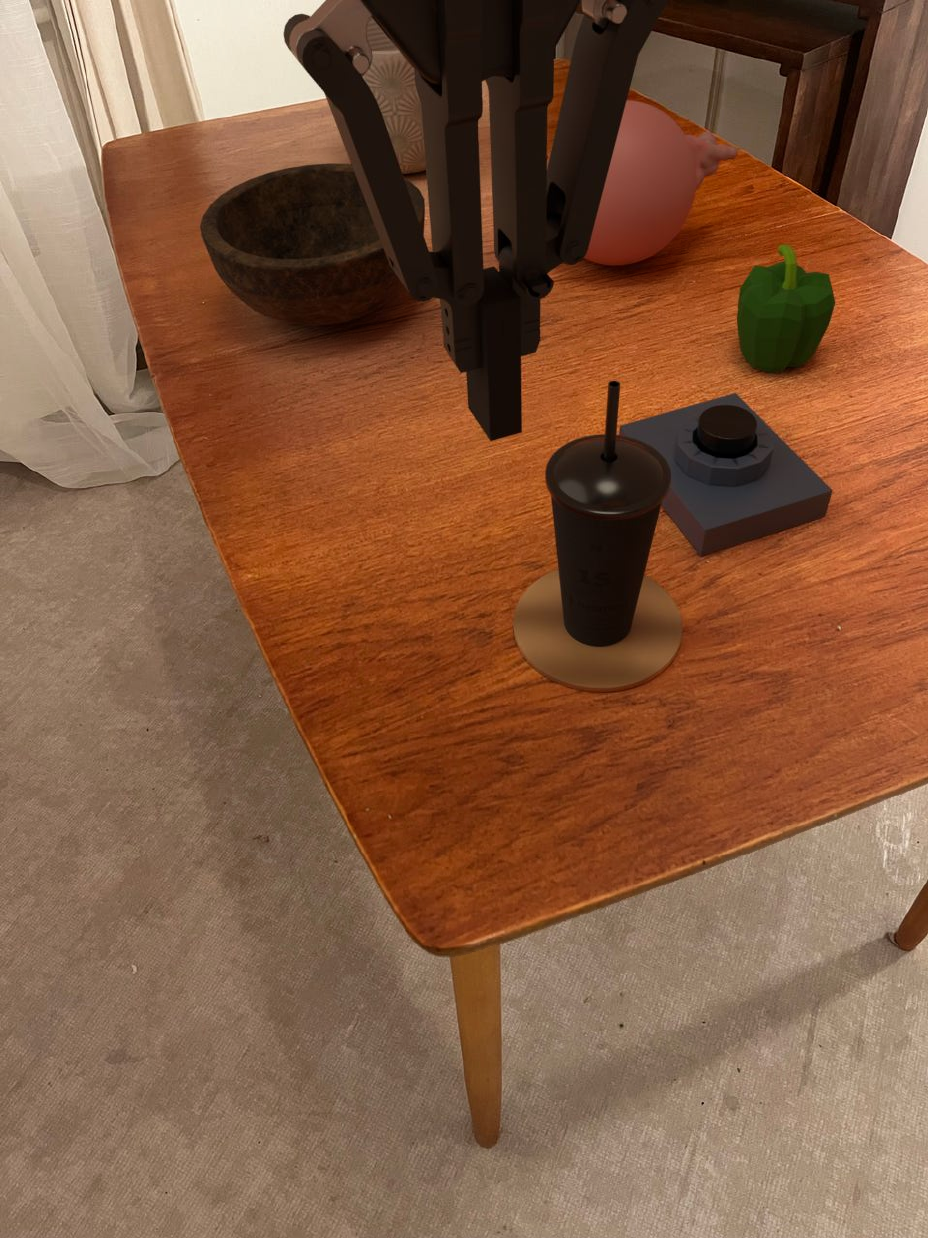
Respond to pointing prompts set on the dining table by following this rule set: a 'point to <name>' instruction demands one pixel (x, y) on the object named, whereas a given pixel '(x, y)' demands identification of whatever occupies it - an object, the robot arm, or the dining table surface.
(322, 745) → the dining table surface
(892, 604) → the dining table surface
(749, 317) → the bell pepper
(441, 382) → the dining table surface
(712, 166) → the balloon
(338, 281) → the bowl
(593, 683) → the coaster
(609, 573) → the drinking cup
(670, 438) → the plate
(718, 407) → the button
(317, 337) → the dining table surface
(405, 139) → the planter
